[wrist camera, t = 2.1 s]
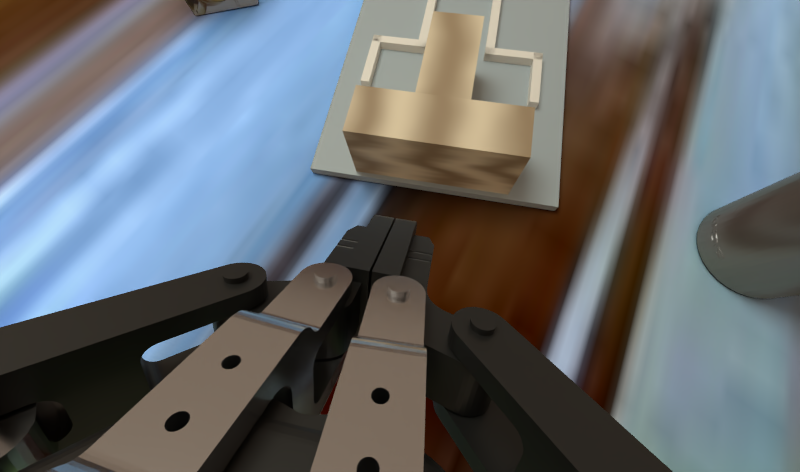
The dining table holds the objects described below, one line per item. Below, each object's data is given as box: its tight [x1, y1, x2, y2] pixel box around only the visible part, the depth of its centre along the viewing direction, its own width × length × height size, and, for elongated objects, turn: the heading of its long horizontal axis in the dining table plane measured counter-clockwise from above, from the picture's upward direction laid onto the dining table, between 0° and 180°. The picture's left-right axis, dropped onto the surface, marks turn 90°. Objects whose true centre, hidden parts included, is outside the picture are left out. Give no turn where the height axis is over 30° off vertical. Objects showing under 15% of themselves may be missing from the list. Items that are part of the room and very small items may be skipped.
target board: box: [311, 0, 570, 211], centre depth 39 cm, size 26×32×2 cm
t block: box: [342, 11, 535, 195], centre depth 33 cm, size 16×15×7 cm
